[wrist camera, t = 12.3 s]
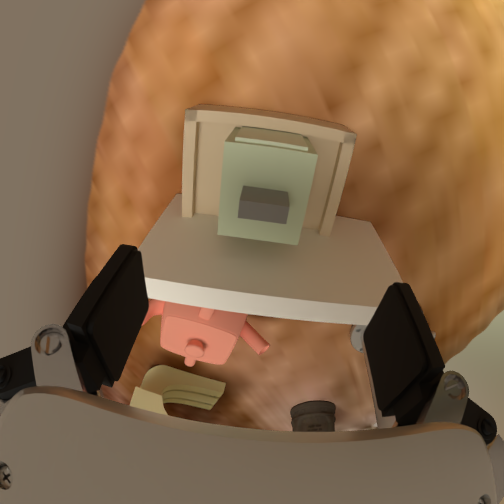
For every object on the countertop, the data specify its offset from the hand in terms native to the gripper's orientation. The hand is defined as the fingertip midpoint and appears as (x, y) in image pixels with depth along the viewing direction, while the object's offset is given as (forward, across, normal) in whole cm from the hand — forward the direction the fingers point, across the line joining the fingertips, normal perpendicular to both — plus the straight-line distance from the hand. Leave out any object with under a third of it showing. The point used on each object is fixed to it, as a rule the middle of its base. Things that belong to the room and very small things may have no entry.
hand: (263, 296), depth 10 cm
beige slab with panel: (+20, -2, +2) cm, 20 cm away
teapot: (+21, +6, +20) cm, 29 cm away
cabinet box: (+16, 0, 0) cm, 16 cm away
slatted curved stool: (+21, +11, +49) cm, 54 cm away
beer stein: (+21, -20, +57) cm, 64 cm away
